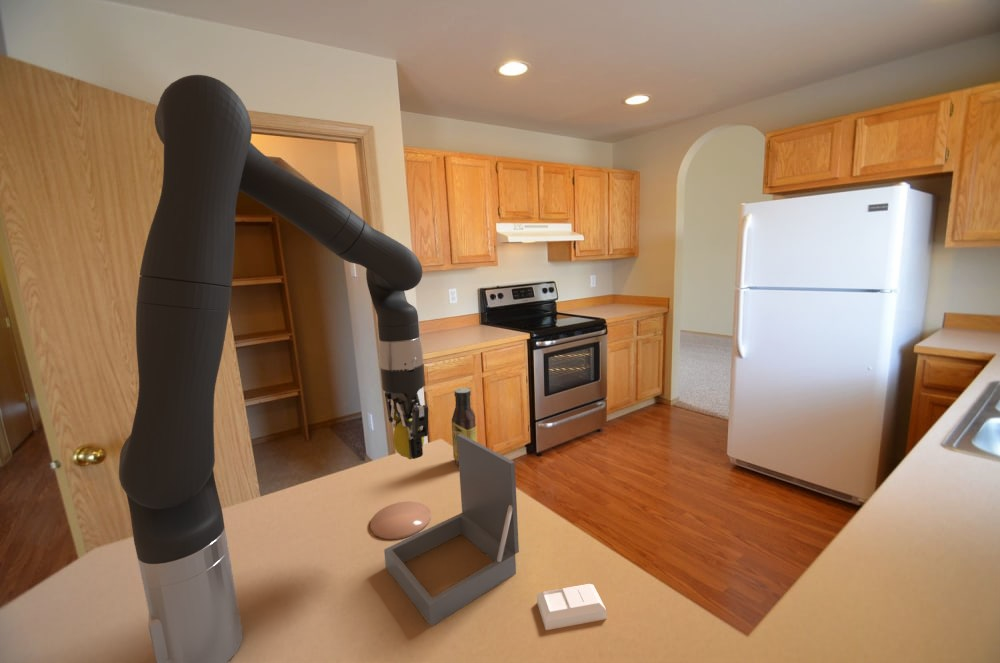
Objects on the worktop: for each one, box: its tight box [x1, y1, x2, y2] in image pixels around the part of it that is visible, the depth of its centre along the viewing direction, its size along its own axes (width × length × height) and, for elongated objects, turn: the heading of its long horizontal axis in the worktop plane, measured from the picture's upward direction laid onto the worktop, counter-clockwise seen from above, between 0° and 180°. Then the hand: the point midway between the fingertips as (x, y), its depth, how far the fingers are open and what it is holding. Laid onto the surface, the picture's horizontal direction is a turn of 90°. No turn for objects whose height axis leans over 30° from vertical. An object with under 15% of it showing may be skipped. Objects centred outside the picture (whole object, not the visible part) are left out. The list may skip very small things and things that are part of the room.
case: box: [383, 434, 520, 628], centre depth 70 cm, size 17×16×20 cm
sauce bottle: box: [451, 387, 478, 467], centre depth 109 cm, size 7×6×20 cm
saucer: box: [370, 501, 432, 540], centre depth 86 cm, size 12×12×1 cm
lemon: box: [392, 419, 425, 460], centre depth 78 cm, size 6×6×8 cm
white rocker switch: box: [536, 583, 607, 631], centre depth 62 cm, size 5×9×3 cm, turn 99°
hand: (409, 451), depth 78 cm, fingers closed on lemon, 5 cm apart
